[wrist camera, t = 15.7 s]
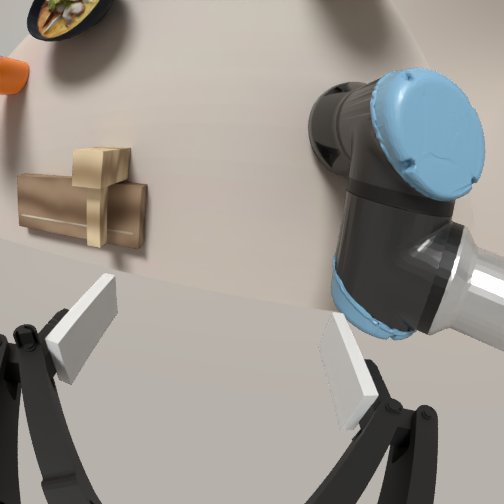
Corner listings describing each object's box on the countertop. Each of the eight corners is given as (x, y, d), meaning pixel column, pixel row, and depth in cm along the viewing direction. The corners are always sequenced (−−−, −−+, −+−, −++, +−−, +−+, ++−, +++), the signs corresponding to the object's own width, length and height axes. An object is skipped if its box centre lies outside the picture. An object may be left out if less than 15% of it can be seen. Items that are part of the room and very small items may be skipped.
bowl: (129, 34, 32) (101, 14, 23) (50, 61, 32) (16, 53, 23) (139, -36, 25) (119, -61, 16) (62, -7, 26) (35, -22, 16)
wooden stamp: (104, 146, 39) (73, 150, 31) (130, 148, 39) (103, 151, 31) (100, 230, 44) (73, 249, 36) (124, 234, 45) (100, 255, 36)
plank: (25, 173, 40) (17, 175, 38) (147, 184, 42) (141, 187, 39) (26, 222, 44) (19, 225, 41) (143, 243, 45) (138, 249, 43)
